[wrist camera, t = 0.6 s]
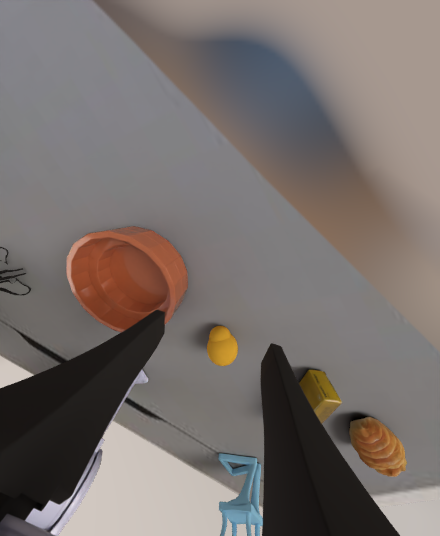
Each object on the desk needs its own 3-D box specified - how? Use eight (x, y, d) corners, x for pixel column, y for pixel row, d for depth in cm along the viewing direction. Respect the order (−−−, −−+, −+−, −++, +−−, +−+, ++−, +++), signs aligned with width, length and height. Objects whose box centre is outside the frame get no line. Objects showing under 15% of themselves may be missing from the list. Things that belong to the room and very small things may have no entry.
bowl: (129, 318, 24) (105, 341, 20) (84, 241, 21) (42, 250, 16) (202, 303, 22) (192, 326, 17) (165, 211, 18) (141, 213, 14)
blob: (215, 348, 24) (210, 375, 20) (204, 323, 23) (197, 347, 19) (241, 344, 23) (241, 372, 20) (232, 318, 22) (230, 342, 18)
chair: (264, 469, 36) (274, 585, 25) (231, 469, 38) (227, 577, 27) (252, 451, 34) (258, 570, 23) (218, 452, 36) (208, 562, 25)
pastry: (334, 414, 27) (345, 442, 24) (379, 407, 24) (398, 438, 21) (357, 447, 28) (370, 478, 25) (402, 445, 26) (423, 479, 23)
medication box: (292, 413, 28) (302, 445, 24) (278, 410, 28) (286, 443, 24) (325, 371, 23) (344, 403, 19) (308, 367, 23) (323, 400, 19)
